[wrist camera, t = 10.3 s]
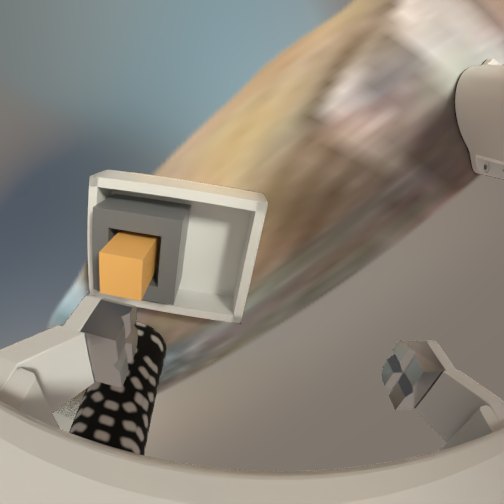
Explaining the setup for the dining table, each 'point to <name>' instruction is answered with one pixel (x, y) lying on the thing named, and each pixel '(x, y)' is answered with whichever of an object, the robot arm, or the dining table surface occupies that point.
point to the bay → (205, 244)
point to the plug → (128, 264)
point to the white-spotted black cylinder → (124, 399)
